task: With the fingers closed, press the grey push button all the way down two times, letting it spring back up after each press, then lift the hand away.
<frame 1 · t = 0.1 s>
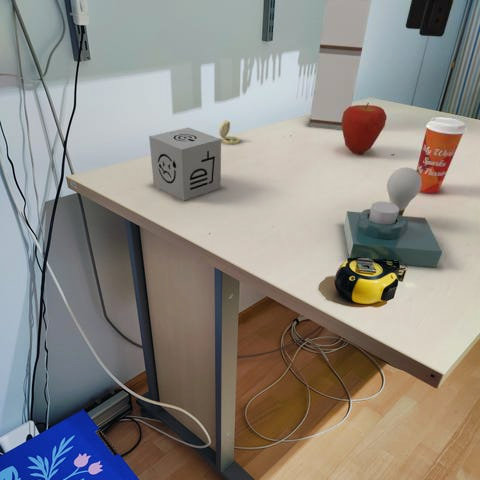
hand: (422, 32, 62), 30 cm above the table, tool pointing down, fingers open, 9 cm apart
icon cube: (187, 187, 90), on the table
apple: (356, 152, 112), on the table
light bulb: (393, 221, 81), on the table
grey push button: (383, 213, 70), point 6 cm above the table, slide at 0.1 cm
eyeshadow: (230, 142, 115), on the table
tall brown-striped box: (328, 124, 132), on the table
paper cup: (425, 189, 94), on the table
dispenser: (386, 245, 73), on the table
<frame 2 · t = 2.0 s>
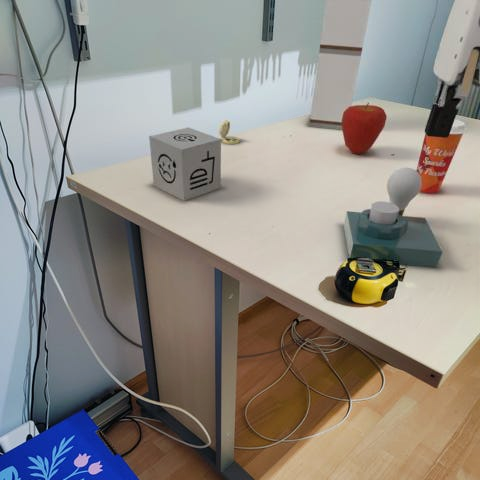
hand: (435, 135, 63), 18 cm above the table, tool pointing down, fingers closed
nothing on the table moved.
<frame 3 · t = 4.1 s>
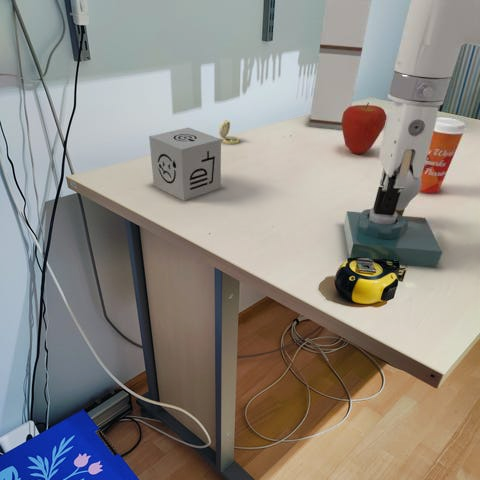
hand: (383, 212, 70), 6 cm above the table, tool pointing down, fingers closed
grey push button: (382, 219, 70), point 5 cm above the table, slide at -0.9 cm, touching gripper
everything else where it was.
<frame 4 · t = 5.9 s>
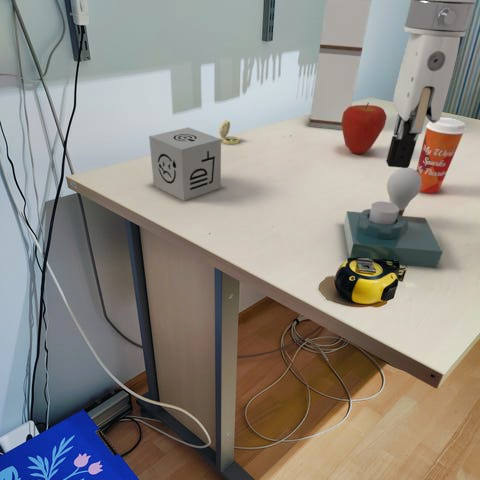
hand: (397, 165, 65), 14 cm above the table, tool pointing down, fingers closed
grey push button: (383, 213, 70), point 6 cm above the table, slide at 0.1 cm
everything else where it was.
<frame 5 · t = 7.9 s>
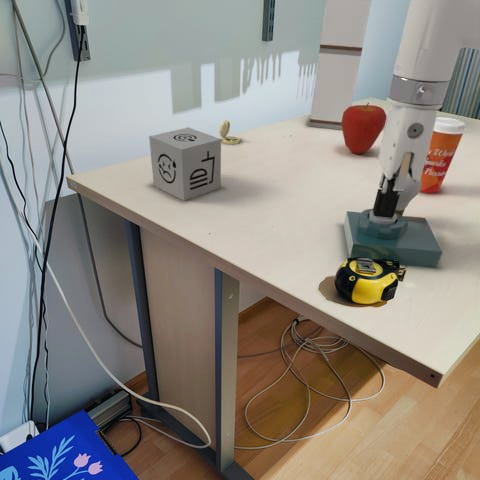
hand: (382, 214, 70), 6 cm above the table, tool pointing down, fingers closed
grey push button: (381, 221, 71), point 4 cm above the table, slide at -1.3 cm, touching gripper
everything else where it was.
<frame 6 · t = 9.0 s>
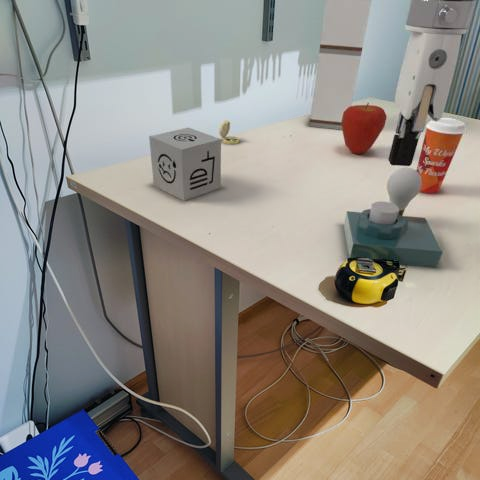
hand: (399, 163, 65), 14 cm above the table, tool pointing down, fingers closed
grey push button: (383, 213, 70), point 6 cm above the table, slide at 0.1 cm
everything else where it was.
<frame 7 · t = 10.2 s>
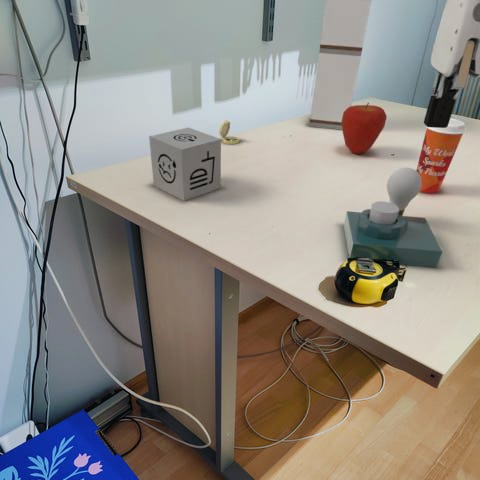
hand: (435, 125, 64), 19 cm above the table, tool pointing down, fingers closed
nothing on the table moved.
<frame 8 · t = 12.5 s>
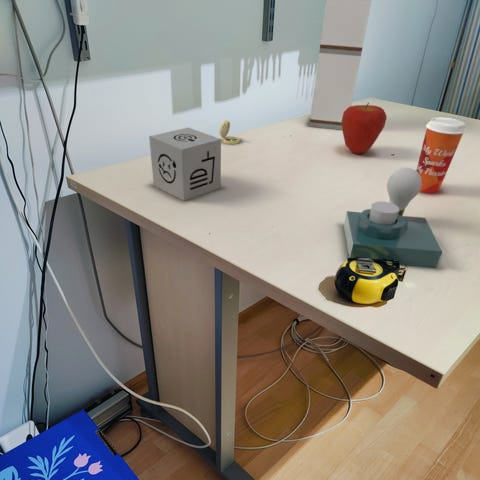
nothing on the table moved.
at the end: grey push button pushed in 1.3 cm at the most during the clip, back to where it started at the end; grey push button slide at 0.1 cm; light bulb moved 0.2 cm from its start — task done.
